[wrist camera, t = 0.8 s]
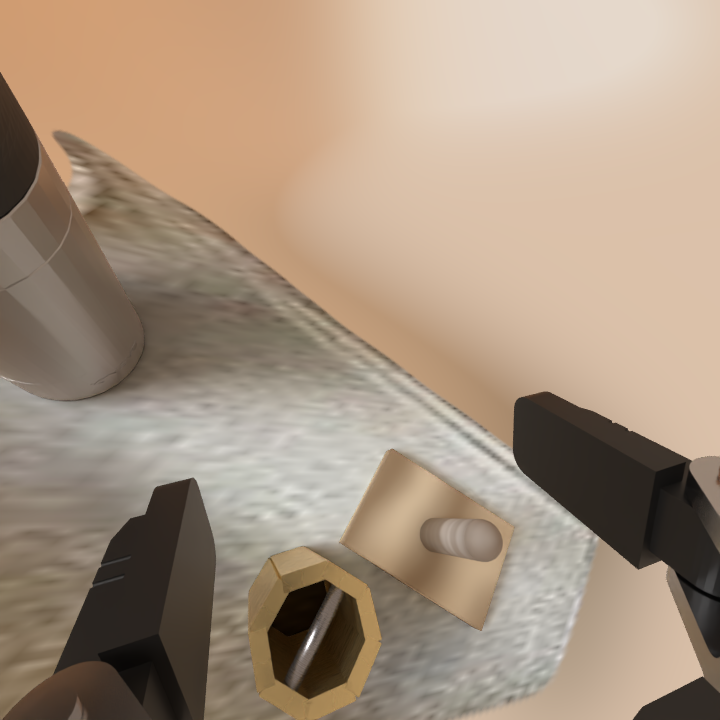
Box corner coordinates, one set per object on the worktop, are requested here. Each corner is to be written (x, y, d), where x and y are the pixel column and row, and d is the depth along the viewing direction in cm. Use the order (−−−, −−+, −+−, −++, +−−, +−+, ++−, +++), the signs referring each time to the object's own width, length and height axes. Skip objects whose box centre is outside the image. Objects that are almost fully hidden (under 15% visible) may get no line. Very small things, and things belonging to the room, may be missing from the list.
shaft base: (339, 542, 29) (375, 553, 21) (386, 451, 33) (434, 429, 24) (470, 625, 30) (560, 670, 21) (503, 526, 33) (592, 530, 25)
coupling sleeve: (232, 618, 26) (223, 673, 17) (283, 533, 29) (298, 541, 20) (308, 665, 26) (338, 745, 17) (351, 576, 29) (398, 604, 20)
